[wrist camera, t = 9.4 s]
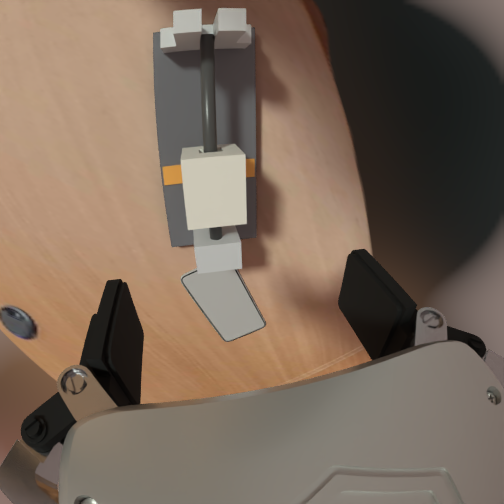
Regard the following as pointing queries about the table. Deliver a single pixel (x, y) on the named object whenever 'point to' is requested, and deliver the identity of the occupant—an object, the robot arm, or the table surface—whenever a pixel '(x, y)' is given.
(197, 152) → the notched cream block
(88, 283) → the table surface
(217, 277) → the smartphone
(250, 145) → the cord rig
